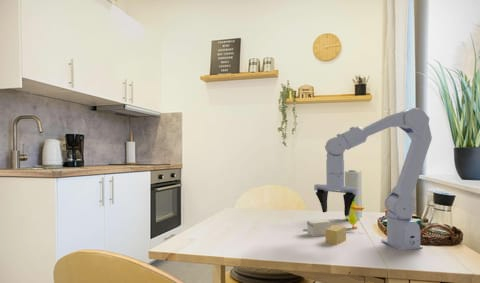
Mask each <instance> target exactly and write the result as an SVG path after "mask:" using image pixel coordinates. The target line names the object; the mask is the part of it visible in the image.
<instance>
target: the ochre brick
mask: <svg viewBox="0 0 480 283" xmlns="http://www.w3.org/2000/svg"><path fill="white" fill-rule="evenodd" d="M325 231H326V235H325V243H326V244H332V245H336V246H337V245H340V244H341V243H343V242H346V241H347V233H346V232H347V227H346V226H343V225H337V224H333V225H332V226H331V225H330V227H329V228H327V229H325Z"/></svg>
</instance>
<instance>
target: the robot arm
mask: <svg viewBox="0 0 480 283" xmlns="http://www.w3.org/2000/svg"><path fill="white" fill-rule="evenodd" d="M429 123H430V117H429V116H428V115H427V113H426V112H425V111H424V110H423V109H422V108H418V107H413V108H410V109H407V110H401V111H400V112H396V113H393V114H389V115H386V116H385V117H383V118H381V119H379V120H377V121H374V122H372V123H371V124H368V125H367V126H365V127H359V126H351V127H349V130H346V131H345V132H343V133H337V134H336V136H334V137H332V138H329V139H328V140H327V141H326V143H325V145H324V148H325V151H326V165H325V166H326V168H325V169H326V173H325V174H326V175H325V176H326V184H319V183H317V184H314V185H313V188H314V189H313V190H314V191H315V196H317V199H318V201H319V204H320V207H321V210H322V213H327V212H328V197H329V192H331V193H341V194H342V197H343V202H344V205H343V206H344V212H343V213H344V217H345V216H348V215H349V211H350V207H351V204H352V202H353V200H354V198H355V196H356V194H358V188H354V187H348V186H345V160H344V153H345V151H346V150H347V151H349V150H351V149H353V148H354V147H355V148H356V147H358V146H359V145H362V144H363V143H366V142H367V139H368V137H370V136H372V135H375V134H377V133H379V132H382V131H384V130H386V129H389V128H399V129H401V130H402V131H403V132H405V133H406V135H407V136H408V137H409V139H410V140H411V142H410V145H409V147H408V150H407V153H406V156H405V158H404V162H403V165H402V167H401V170H400V174H399V177H398V179H397V183H396V185H395V186H394V187H393V188H392V189H391V192H390V194H389V195H388V196H387V197H386V198H385V200H384V205H385V208H386V209H387V210H388V211H387V214H386V231H387V232H386V238H383V239H381V240H380V241H381V242H383V243H385V244H387V245H390V246H391V247H393V248H396V249H398V250H400V251H409V250H419V249H423V246H422V245H421V227H420V225H419V223H418V222H416V221H414V220H413V216H414V214H415V211H416V210H415V209H416V207H415V201H416V196H415V188H416V186H417V183H418V180H419V177H420V174H421V172H422V169H423V166H424V163H425V160H426V157H427V154H428V151H429V148H430V145H431V142H432V138H433V137H432V133H431V129H430V124H429ZM345 193H346V194H345Z"/></svg>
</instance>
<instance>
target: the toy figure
mask: <svg viewBox="0 0 480 283" xmlns="http://www.w3.org/2000/svg"><path fill="white" fill-rule="evenodd" d="M364 209H365V208H364V207H363V206H362V207H359V206H356V203H355V200H353V202H352V204H351V207H350V212H351V215H350V216H349V217H347V218H346V219H347V220H348V222H349V224H350V225H352V227H351V229H353V230H354V229H355V230H357V229H358V226H356V224H357V222H358V220H357V217H356V216H355V210H362V211H364Z"/></svg>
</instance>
